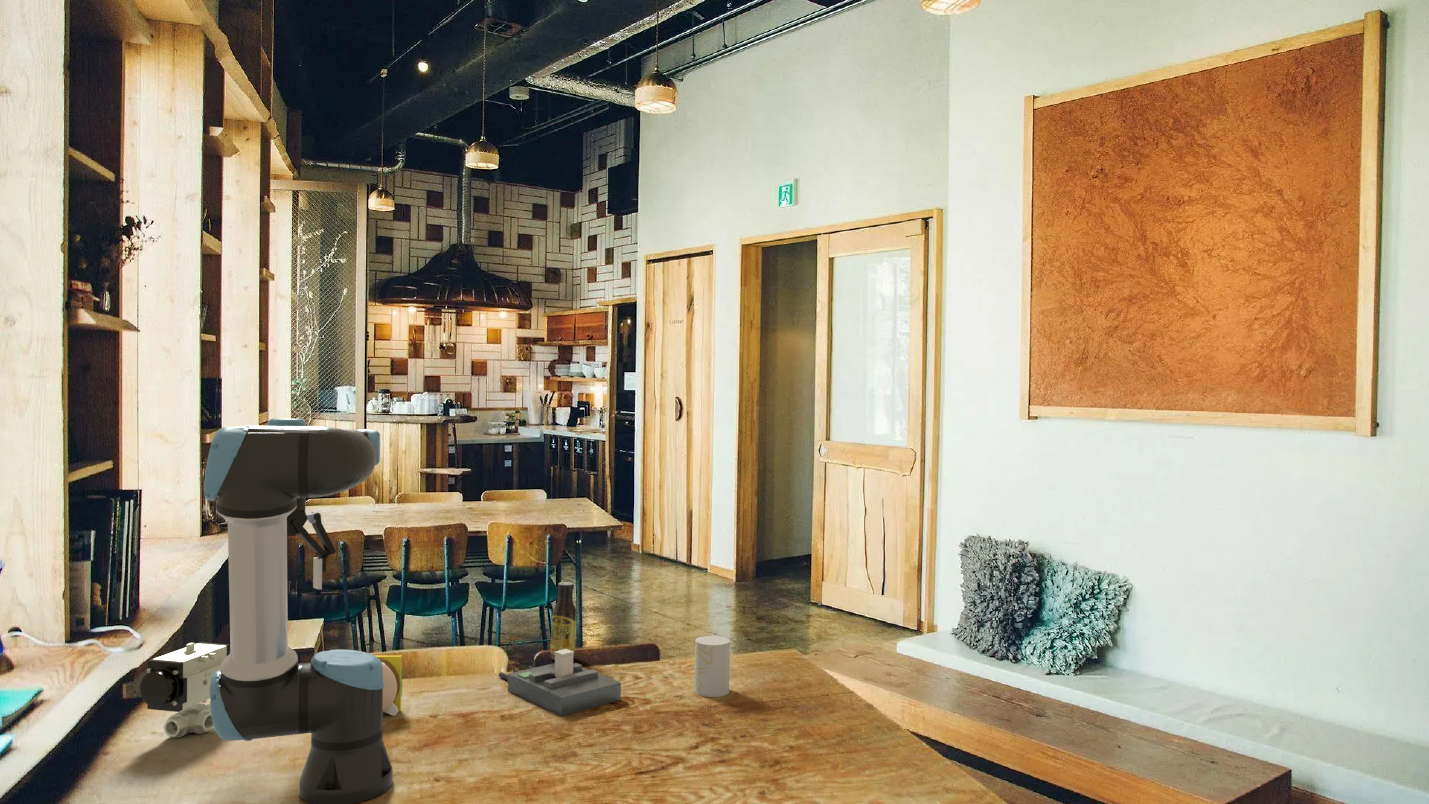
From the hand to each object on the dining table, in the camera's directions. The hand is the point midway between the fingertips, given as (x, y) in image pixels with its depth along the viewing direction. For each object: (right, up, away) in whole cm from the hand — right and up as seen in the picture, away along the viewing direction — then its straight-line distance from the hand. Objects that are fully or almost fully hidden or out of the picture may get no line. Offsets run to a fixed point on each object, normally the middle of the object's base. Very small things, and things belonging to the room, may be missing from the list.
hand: (284, 593), depth 192 cm
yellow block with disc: (+16, -27, +4) cm, 32 cm away
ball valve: (-15, -27, -8) cm, 32 cm away
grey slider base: (+52, -27, +22) cm, 63 cm away
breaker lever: (+56, -23, +18) cm, 63 cm away
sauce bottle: (+51, -27, +47) cm, 74 cm away
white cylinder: (+90, -28, +23) cm, 97 cm away
